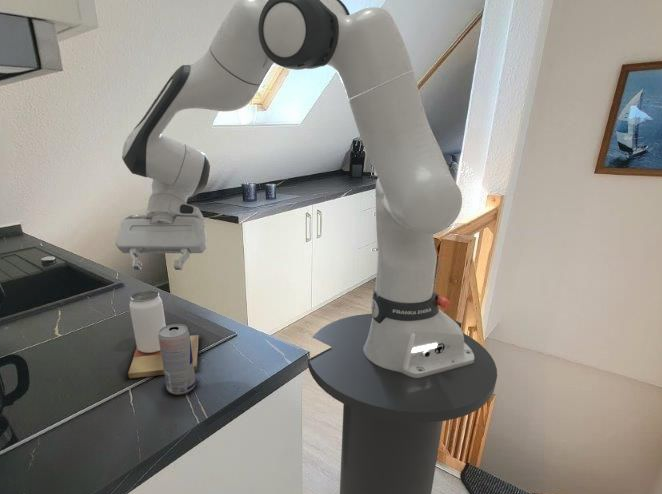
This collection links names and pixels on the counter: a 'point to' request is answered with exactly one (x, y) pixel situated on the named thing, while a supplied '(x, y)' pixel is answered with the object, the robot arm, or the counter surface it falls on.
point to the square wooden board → (156, 361)
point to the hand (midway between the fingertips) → (157, 268)
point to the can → (147, 320)
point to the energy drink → (177, 358)
